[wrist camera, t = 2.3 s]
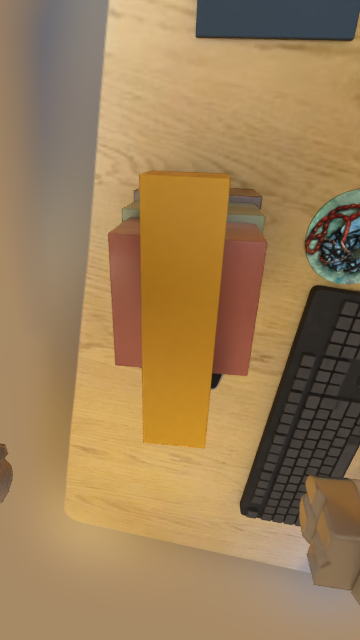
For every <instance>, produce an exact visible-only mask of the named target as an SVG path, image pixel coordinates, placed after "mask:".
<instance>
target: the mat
mask: <svg viewBox="0 0 360 640" xmlns="http://www.w3.org/2000/svg"><path fill="white" fill-rule="evenodd" d="M359 12H360V0H198V1H197V23H196V37H200V38H250V39H299V40H349V41H351V40H353V39H354V36H355V31H356V27H357V22H358V17H359Z"/></svg>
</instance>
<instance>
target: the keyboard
mask: <svg viewBox="0 0 360 640" xmlns="http://www.w3.org/2000/svg"><path fill="white" fill-rule="evenodd" d="M359 446H360V292H357V291H350V290H344V289H338V288H332V287H325V286H314V287H313V288H312V289H311V291H310V294H309V297H308V300H307V303H306V306H305V309H304V312H303V315H302V318H301V321H300V324H299V327H298V330H297V333H296V336H295V339H294V342H293V345H292V348H291V351H290V354H289V357H288V360H287V363H286V366H285V369H284V372H283V375H282V378H281V381H280V384H279V387H278V390H277V393H276V396H275V399H274V402H273V405H272V408H271V411H270V414H269V417H268V420H267V423H266V426H265V429H264V432H263V435H262V438H261V441H260V444H259V447H258V450H257V453H256V456H255V459H254V463H253V466H252V469H251V472H250V475H249V478H248V481H247V484H246V487H245V490H244V493H243V496H242V499H241V502H240V511H241V514H242V515H245V516H247V517H249V518H261V519H262V520H267V521H271V520H272V521H273V522H278V523H282V522H284V524H289V525H293V524H295V526H300V519H299V507H300V501H301V497H302V496H303V495H304V494H306V493H307V490H306V486H305V483H306V480H307V477H308V476H309V475H318V476H329V477H340V478H343V477H344V475H345V473H346V471H347V469H348V467H349V465H350V463H351V461H352V459H353V457H354V455H355V453H356V451H357V450H358V448H359Z"/></svg>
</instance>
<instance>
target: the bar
mask: <svg viewBox="0 0 360 640" xmlns="http://www.w3.org/2000/svg"><path fill="white" fill-rule="evenodd" d="M230 180H231V179H230V177H229V176H228V174H218V173H196V172H174V171H149V172H146V173H142V174H140V175H139V184H140V254H141V324H142V395H143V442H144V443H154V444H164V445H175V446H185V447H196V448H205V442H206V432H207V421H208V411H209V400H210V390H211V379H212V369H213V358H214V348H215V337H216V327H217V316H218V306H219V295H220V285H221V274H222V264H223V253H224V243H225V233H226V222H227V212H228V201H229V191H230Z"/></svg>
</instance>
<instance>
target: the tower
mask: <svg viewBox="0 0 360 640" xmlns="http://www.w3.org/2000/svg"><path fill="white" fill-rule="evenodd" d="M261 202H262V196H260V195H259V194H258V193H257V192H256V191H255V190H253V189H234V188H230V191H229V201H228V212H227V222H226V233H225V243H224V253H223V264H222V274H221V285H220V295H219V306H218V316H217V327H216V337H215V348H214V358H213V369H212V373H216V374H228V375H240V376H247V375H248V368H249V362H250V355H251V348H252V342H253V335H254V328H255V322H256V315H257V309H258V302H259V295H260V289H261V282H262V276H263V269H264V262H265V256H266V249H267V241H266V240H265V238H264V236H263V229H264V222H265V215H264V214H263V213H262V212H261V211H260V210H261ZM108 242H109V260H110V278H111V296H112V314H113V332H114V350H115V365H118V366H130V367H142V324H141V254H140V188H139V189H136V190H134V202H132V203H131V204H129V205H127V206H126V207H124V208H122V223H121V224H120V225H119V226H117V227H116V228H115V229H113V230H112V231H111V232H109V233H108Z"/></svg>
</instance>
